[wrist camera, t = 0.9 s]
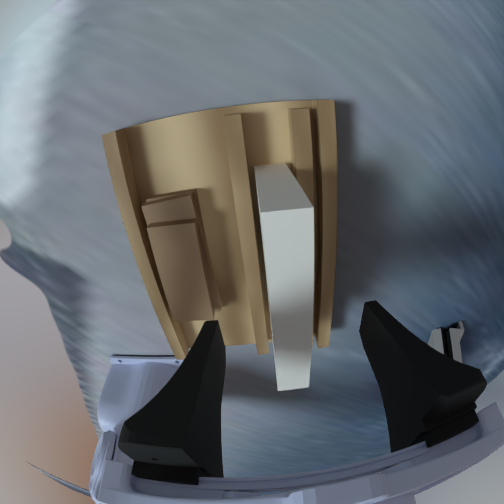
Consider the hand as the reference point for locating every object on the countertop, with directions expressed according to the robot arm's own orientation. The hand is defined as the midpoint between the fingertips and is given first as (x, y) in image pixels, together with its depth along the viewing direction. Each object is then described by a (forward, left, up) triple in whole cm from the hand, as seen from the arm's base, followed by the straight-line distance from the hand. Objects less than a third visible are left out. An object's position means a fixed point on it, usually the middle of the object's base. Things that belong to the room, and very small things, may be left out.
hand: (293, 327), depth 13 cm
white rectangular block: (0, 0, -8) cm, 8 cm away
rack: (-3, 0, -9) cm, 9 cm away
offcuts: (-7, 0, -8) cm, 11 cm away
